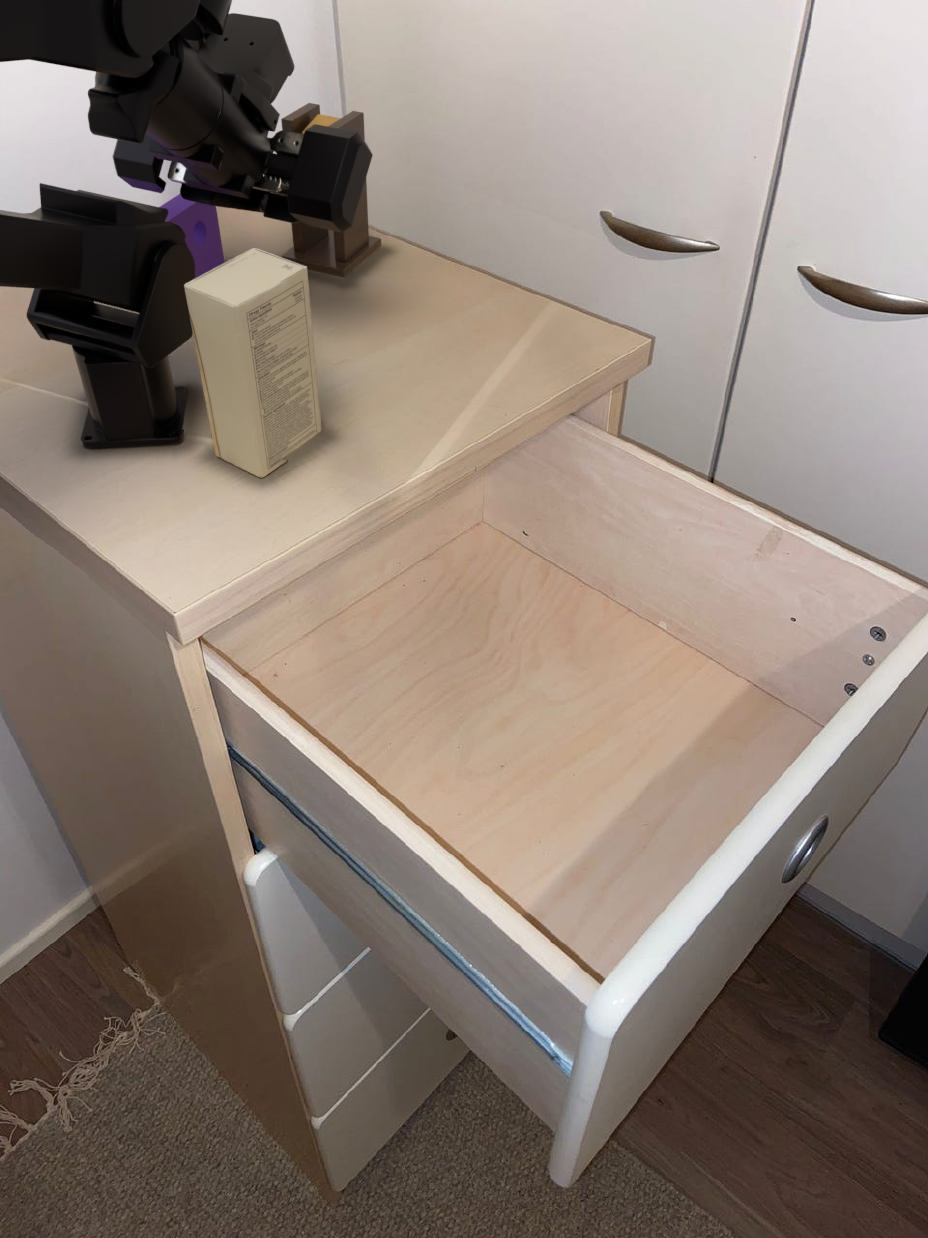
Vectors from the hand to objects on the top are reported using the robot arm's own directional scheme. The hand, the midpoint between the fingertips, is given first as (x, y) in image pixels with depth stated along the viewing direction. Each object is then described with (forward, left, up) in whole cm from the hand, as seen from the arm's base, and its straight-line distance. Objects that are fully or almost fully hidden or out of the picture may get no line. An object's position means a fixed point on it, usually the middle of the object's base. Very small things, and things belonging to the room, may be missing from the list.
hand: (291, 210), depth 77 cm
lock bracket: (+5, -3, -6) cm, 9 cm away
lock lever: (+2, -1, +1) cm, 3 cm away
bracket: (+3, +13, -7) cm, 15 cm away
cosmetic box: (-23, +2, -7) cm, 24 cm away
